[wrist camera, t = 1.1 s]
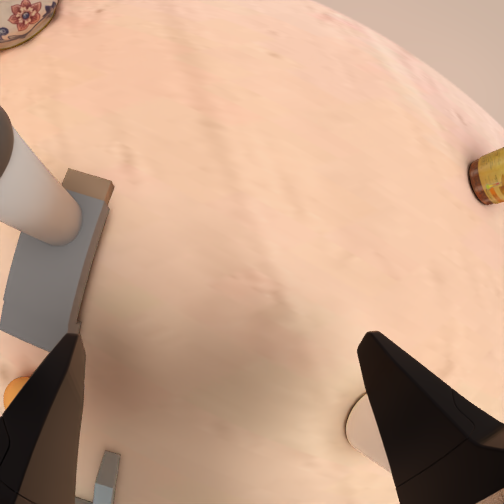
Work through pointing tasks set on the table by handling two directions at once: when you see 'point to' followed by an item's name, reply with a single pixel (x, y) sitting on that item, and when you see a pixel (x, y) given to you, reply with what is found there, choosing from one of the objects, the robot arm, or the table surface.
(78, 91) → the table surface
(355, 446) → the can
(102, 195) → the rail
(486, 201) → the sauce bottle
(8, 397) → the ball
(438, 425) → the robot arm
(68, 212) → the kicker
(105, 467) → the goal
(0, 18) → the chinaware
